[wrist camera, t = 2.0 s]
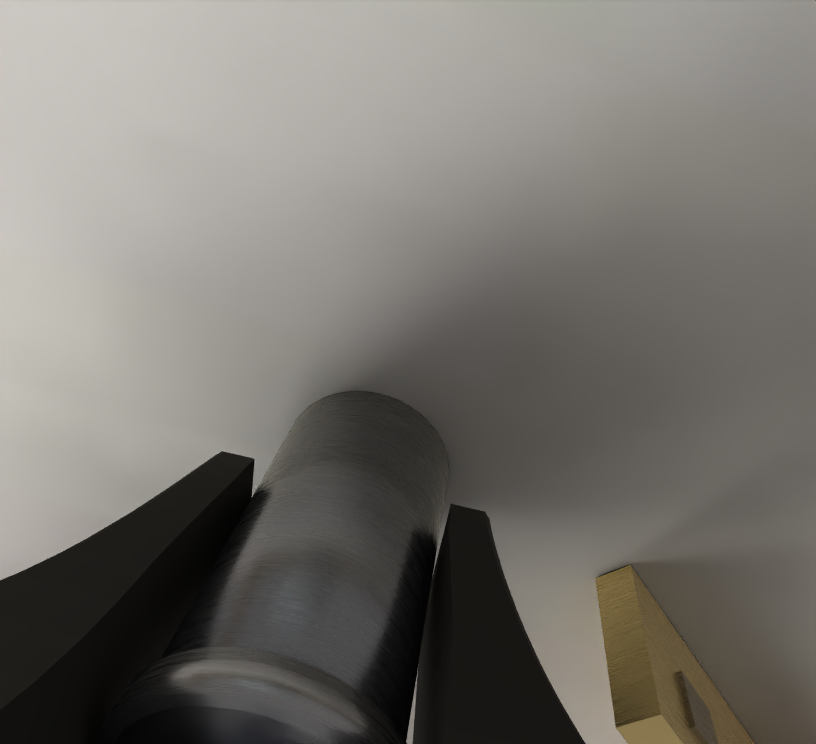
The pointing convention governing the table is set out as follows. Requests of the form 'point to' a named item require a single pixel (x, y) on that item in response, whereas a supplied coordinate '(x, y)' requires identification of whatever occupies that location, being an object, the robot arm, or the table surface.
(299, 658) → the pin
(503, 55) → the table surface
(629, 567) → the gold square socket frame
